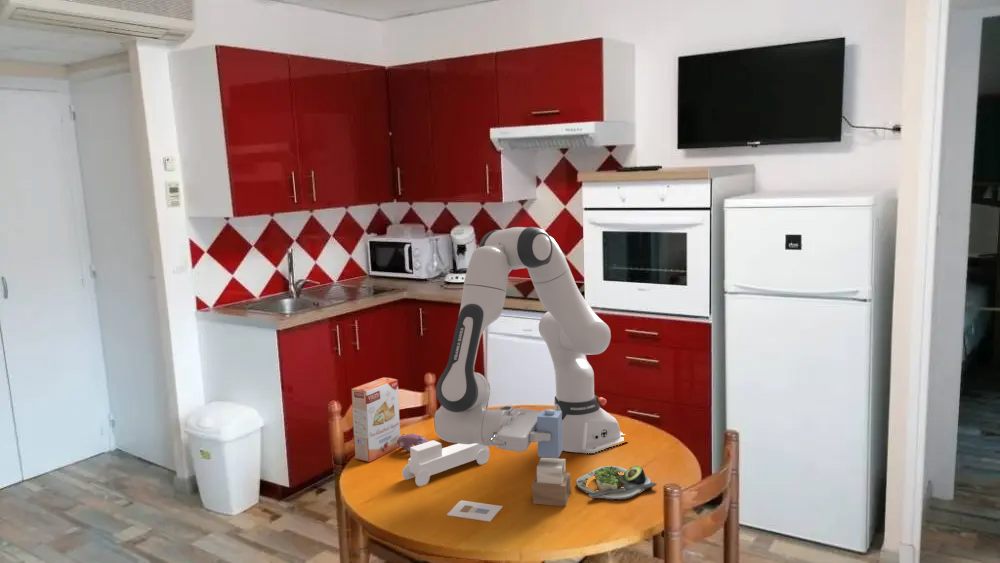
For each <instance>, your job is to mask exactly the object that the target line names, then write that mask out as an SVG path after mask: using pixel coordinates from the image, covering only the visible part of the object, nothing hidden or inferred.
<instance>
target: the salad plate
mask: <svg viewBox="0 0 1000 563" xmlns="http://www.w3.org/2000/svg"><path fill="white" fill-rule="evenodd" d="M618 472H619V473H620V472H622V473H623V472H624V475H619V474H618ZM592 476H595V478H596V479H595V484H596V488H597V489H598V491H596V490H597V489H595V490H593V489H594V488H591V489H590V487H589V488H588V487H586V483H587V480H588V479H589V478H590V477H592ZM575 483H576V486H577V487H578V489H580V490H581V491H582V492H583V491H584V493H585V492H587V493H589V494H587V493H586V494H587V495H588V498H593V499H595V498H596V499H600V498H605V499H604V500H614V499H618V500H627V499H626V498H628V499H630V498H629V497H631V498H633V497H635V496H636V494H637V495H639V494H640V493H639V492H641V491H643V490H645V491H647V490H649V489H652V488H654V487H655V486H657V485H658V484H657V482H652V480H651V478H650V477H648V476H646V474H645V471H644V468H643V467H642V466H639V465H633V466H631V467H629V469H626V468H624V467H621V466H617V465H607V466H606V465H605V466H604V465H603V466H599V467H597V468H595V469H593V470H591V471H590V472H588V473H585V474H583V475H581V476H580V477H577V479H576V482H575ZM621 487H624V488H621ZM646 489H647V490H646ZM643 492H644V491H643ZM638 493H639V494H638ZM641 493H642V492H641ZM634 495H635V496H634ZM632 496H633V497H632Z"/></svg>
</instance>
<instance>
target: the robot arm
mask: <svg viewBox="0 0 1000 563" xmlns="http://www.w3.org/2000/svg"><path fill="white" fill-rule="evenodd" d="M519 269H527V271H528V272H527V273H528V274H529V277H530V280H531V282H532V285H533V287H534V290H535V292H536V294H537V297H538V300H539V302H540V304H541V306H542V307H543V308H544V309H545V310H546V312H545V313H544V314H543V315H542V316H541V318H540V319H539V322H538V332H539V335H540V337H541V338H542V339H543V341H544V343H545V344H546V346H547V348H548V352H549V354H550V358H551V360H552V365H553V370H554V378H555V396H554V410H555V411H562V452H563V451H564V452H568V453H580V454H581V453H582V454H587V453H588V455H590V454H589V453H594V454H596V453H595V452H597V453H599V452H598V451H600V450H603V449H605V448H608V447H611V446H613V445H615V444H617V443H620V442H622V441H624V437H621V435H626V434H625V433H624V434H623V432H622V431H621V430H620V429H621V428H620V424H619V422H618V421H617V419H616V418H615V417H614V416H613V415H612V414H610V413H609V412H607V411H606V410H604V409H603V408H601V406H605V405H606V404H607V399H606V398H604V397H602V396H600V397H599V396H598V395H596V394H595V373H594V370H593V367H592V365H591V364H590V363H589V361H588V359H587V357H586V355H589V356H590V355H592V356H593V355H594V356H595V355H600V354H602V353H604V352H605V351H606V350H607V348H608V347H609V345H610V343H611V338H612V335H611V328H610V327H609V325H608V324H607V323H606V322H604V320H602V319H601V318H600V317H599V316H598V315H597V313H596V312H595V311H594V310H593V309H592V308H591V305H589V303H588V302H587V300H586V299H585V297H583V295H582V293H581V292H580V290H579V288H578V285H577V284H576V281H575V278H574V275H573V274H572V271H571V267H570V266H569V263H568V262H567V258H566V256H565V255H564V253H563V251H562V249H561V248H560V246H559V244H558V243H557V242H556V240H555V239H554V238H553V237H552V236H551V235H549V233H548V232H546V231H545V230H544V229H543V228H542V229H541V228H540V227H537V226H536V227H535V226H529V227H526V226H525V227H523V226H516V227H515V226H513V227H510V228H509V227H508V228H504V229H494V230H491V231H489V232H487V233H486V234H485V235H483V237H482V238H481V240H480V242H479V246H478V248H476V249H475V250H474V251H473V252H472V254H471V256H470V260H469V262H468V266H467V269H466V272H465V278H464V282H463V287H462V294H461V301H460V309H459V313H458V319H457V322H456V326H455V330H454V334H453V339H452V343H451V348H450V352H449V357H448V360H447V364H446V367H445V369H444V370H443V372H442V373H441V375H440V376H439V379H438V381H437V383H436V390H435V391H436V392H435V393H436V398H437V400H438V403H439V404H440V407H439V408H438V409H437V410H436V411H435V414H434V417H433V424H434V430H435V432H436V435H437V436H438V438H439V439H440V440H443V441H445V442H448V443H453V444H458V443H459V444H474V443H478V444H481V445H484V446H488V447H497V448H498V449H500V450H503V451H509V452H510V451H511V452H519V453H520V452H521V453H522V452H525V451H527V450H528V448H529V447H530V445H531V444H532V443H538V442H539V441H550V439H551V432H545V431H544V432H542V433H538V429H537V416H538V415H539V413H540V412H541V411H540V410H538V409H530V408H520V407H519V408H518V407H517V408H514V406H512V405H505V406H503V407H500V408H495V409H487V407H488V403H489V399H490V395H491V394H490V393H491V385H490V383H489V380H488V379H487V377H485V376H484V375H483V374H482V373H480V372H476V371H475V365H476V360H477V355H478V350H479V346H480V341H481V339H482V338H481V337H482V335H483V333H484V331H485V330H486V329H488V327H489V326H490V325H491V324H493V323H494V322H496V321H497V320H498V319H499V318H500V317H501V315H502V311H503V309H504V305H505V301H506V296H507V289H508V288H507V287H508V279H509V278H508V277H509V273H510V272H511V271H512V270H513V271H515V270H519ZM600 405H601V406H600ZM603 451H604V450H603ZM600 452H601V451H600Z"/></svg>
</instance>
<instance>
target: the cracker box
mask: <svg viewBox="0 0 1000 563" xmlns="http://www.w3.org/2000/svg"><path fill="white" fill-rule="evenodd" d="M351 401H352V402H351V404H352V405H351V406H352V424H353V441H354V458H355V460H359V461H363V462H367V463H371V462H373V461H374V460H376V459H379V458H381V457H383V456H384V455H386V454H388V453H390V452H393V451H395V450H396V449H399V448H401V447H400V446H399V445H398V444H397V440H398V438H399V437H401V429H400V428H401V427H400V422H401V421H400V405H399V380H398V379H396V378H392V377H386V376H385V377H381V378H378V379H375V380H373V381H370V382H366V383H363V384H361V385H358V386H355V387H353V388H351Z"/></svg>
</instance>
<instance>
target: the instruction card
mask: <svg viewBox="0 0 1000 563" xmlns="http://www.w3.org/2000/svg"><path fill="white" fill-rule="evenodd" d="M502 508H503V505H497V504H489V503H482V502H476V501H475V502H474V501H468V500H459V501H458V502H457V503H456V504H455V505H454V506H453V507H452V509H451V510H449V512H447V514H446V516H449V517H455V518H461V519H462V518H463V519H470V520H475V521H476V520H477V521H481V522H488V523H491V521H493V519H494V517H496V515H497V514H498V513H499V512H500V510H502Z"/></svg>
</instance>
